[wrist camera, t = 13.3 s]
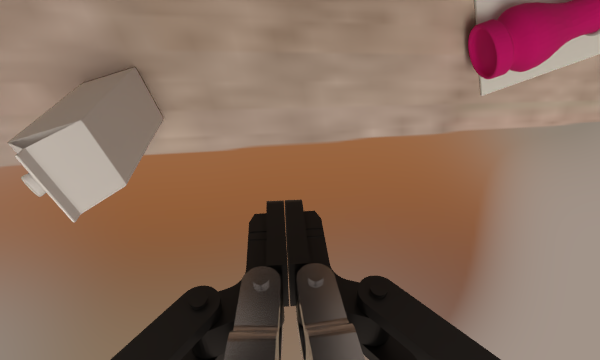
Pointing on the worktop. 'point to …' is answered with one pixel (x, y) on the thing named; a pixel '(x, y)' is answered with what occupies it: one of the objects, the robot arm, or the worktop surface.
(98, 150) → the milk carton
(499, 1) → the mat
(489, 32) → the pepper mill
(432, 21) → the worktop surface
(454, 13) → the worktop surface
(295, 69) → the worktop surface
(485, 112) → the worktop surface
